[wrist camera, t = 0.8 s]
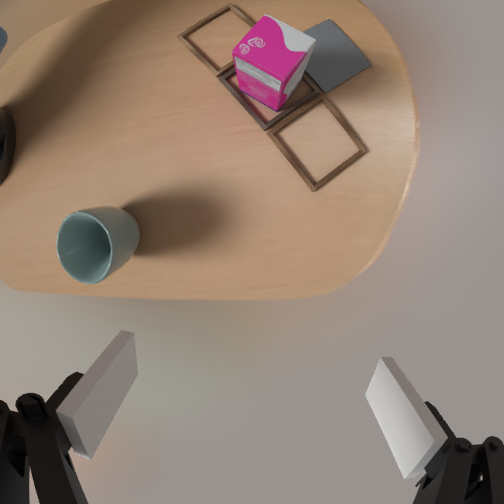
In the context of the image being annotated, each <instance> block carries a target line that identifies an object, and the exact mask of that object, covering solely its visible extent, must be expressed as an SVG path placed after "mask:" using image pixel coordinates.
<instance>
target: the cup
mask: <svg viewBox="0 0 504 504" xmlns="http://www.w3.org/2000/svg"><path fill="white" fill-rule="evenodd" d="M139 239H140V230H139V226H138V223H137V221H136V220H135V219H134V217H133V216H132V215H131V214H129V213H128V212H126V211H125V210H123V209H120V208H117V207H112V206H101V207H93V208H87V209H82V210H79V211H76V212H73V213H71V214H70V215H68V216H67V217H66V218H65V219H64V221H63V222H62V224H61V226H60V229H59V232H58V236H57V245H56V247H57V254H58V258H59V261H60V263H61V265H62V267H63V268H64V269H65V271H66V272H67V273H68V274H69V275H70V276H71V277H73V278H74V279H76V280H78V281H79V282H82V283H85V284H95V283H99V282H101V281H103V280H104V279H106V278H108V277H109V276H110V275H112V274H113V273H115V272H116V271H117V270H119V269H120V268H121V267H122V266H124V265H125V264H126V263H127V262H128V261H129V260H130V259H131V257H132V256H133V254H134V253H135V251H136V249H137V247H138V243H139Z"/></svg>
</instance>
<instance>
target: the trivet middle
mask: <svg viewBox="0 0 504 504" xmlns="http://www.w3.org/2000/svg"><path fill="white" fill-rule="evenodd" d="M235 73H236V69H235V68H233V69H232V70H230V71H229V72H227V73H226V74H224V75H223V76H221V77H220V78H219V81H220V82H221V83H222V84H223V85H224V86H225V87H226V88H227V89H228V90H229V91H230V92H231V94H232V95H233V96H234V97H235V98H236V99H237V100H238V101H239V102H240V104H241V105H242V106H243V107H244V108H245V109H246V110H247V111H248V113H249V114H250V115H251V116H252V117H253V118H254V120H255V121H256V122H257V123H258V124H259V125H260V127H261V128H262V129H263V130H264V131H265V130H266V129H267V128H269V127H270V126H271V125H273V124H274V123H276V122H277V121H278V120H280V119H281V118H283V117H284V116H286V115H287V114H288V113H290V112H291V111H293V110H294V109H296V108H297V107H299V106H300V105H302V104H303V103H305V102H306V101H308V100H309V99H311V98H312V97H314V96H315V95H317V94H318V93H320V90H319V89H318V88H317V87H316V85H315V84H314V83H313V82H312V81H311V80H310V79H309V78H308V76H307V75H306V74H305V73H303V76H302V78H303V80H304V81H305V82H306V83H307V84H308V85H309V86H310V88H311V89H312V90H313V92H312V93H310V94H308V95H307V96H305V97H304V98H302V99H301V100H299V101H298V102H296V103H295V104H293V105H292V106H290V107H289V108H288V109H286V110H285V111H283V112H282V113H280V114H279V115H277V116H276V117H275V118H273V119H272V120H270V121H269V122H268V123H266V124H264V123H263V122H262V120H261V119H260V118H259V117H258V116H257V115H256V113H255V112H254V111H253V110H252V109H251V108H250V107H249V105H248V104H247V103H246V102H245V101H244V100H243V99H242V98H241V96H240V95H239V94H238V93H237V92H236V91H235V90H234V89H233V88H232V87H231V86H230V84H229V83H228V82H227V81H226V79H227V78H229V77H230V76H232V75H233V74H235Z"/></svg>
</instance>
